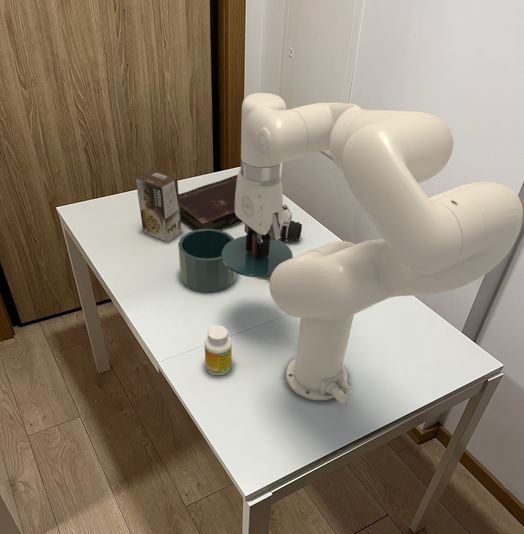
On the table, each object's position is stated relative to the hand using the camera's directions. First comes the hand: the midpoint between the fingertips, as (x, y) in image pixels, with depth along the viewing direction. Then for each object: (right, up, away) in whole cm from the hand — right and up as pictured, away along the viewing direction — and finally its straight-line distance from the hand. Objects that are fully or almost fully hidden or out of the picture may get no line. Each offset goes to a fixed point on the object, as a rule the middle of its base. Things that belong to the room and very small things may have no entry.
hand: (257, 252), depth 110 cm
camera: (+7, +10, +38) cm, 40 cm away
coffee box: (-27, +12, +38) cm, 48 cm away
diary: (-11, +20, +47) cm, 53 cm away
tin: (-13, -2, +24) cm, 27 cm away
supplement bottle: (-8, -24, +2) cm, 25 cm away
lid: (0, -1, +1) cm, 1 cm away
